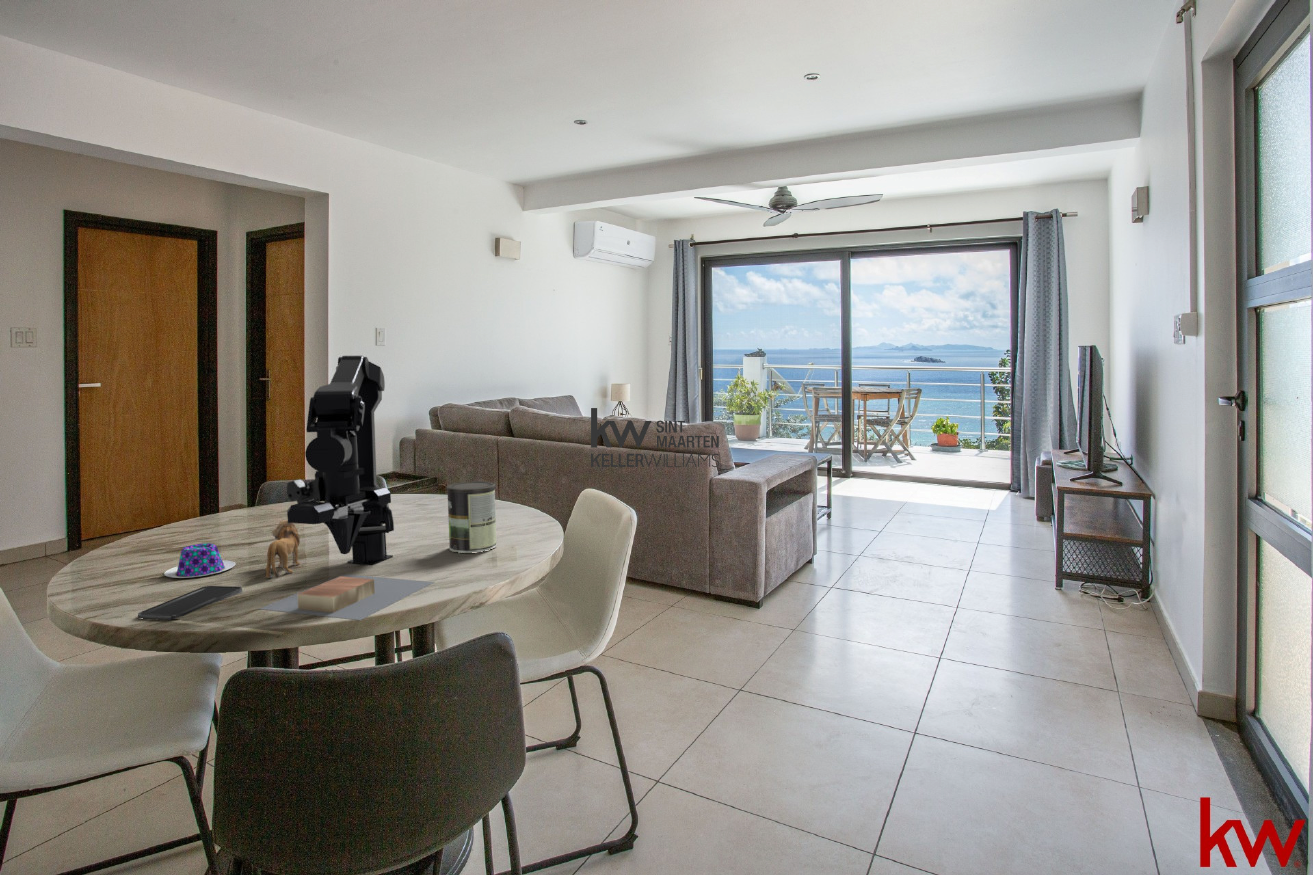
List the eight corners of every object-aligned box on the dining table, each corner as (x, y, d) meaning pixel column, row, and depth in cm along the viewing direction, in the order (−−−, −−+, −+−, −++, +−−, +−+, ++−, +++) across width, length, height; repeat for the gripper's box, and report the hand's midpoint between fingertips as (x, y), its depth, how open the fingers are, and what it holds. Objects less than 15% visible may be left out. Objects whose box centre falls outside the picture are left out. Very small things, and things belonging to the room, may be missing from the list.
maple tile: (340, 576, 125) (297, 593, 115) (373, 579, 123) (332, 597, 113) (341, 590, 125) (298, 608, 116) (374, 593, 123) (333, 612, 114)
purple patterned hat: (205, 582, 133) (203, 555, 133) (148, 580, 135) (146, 553, 134) (249, 564, 145) (247, 539, 145) (196, 562, 147) (194, 538, 146)
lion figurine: (274, 562, 146) (271, 519, 145) (303, 559, 147) (300, 517, 147) (263, 582, 132) (259, 535, 131) (294, 578, 134) (291, 532, 133)
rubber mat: (344, 576, 135) (344, 574, 135) (434, 584, 129) (434, 582, 129) (258, 611, 116) (258, 608, 116) (360, 622, 110) (360, 619, 110)
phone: (134, 614, 113) (206, 585, 128) (134, 621, 113) (206, 591, 128) (177, 616, 112) (245, 586, 127) (178, 623, 112) (245, 592, 127)
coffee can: (445, 555, 150) (442, 489, 148) (453, 543, 160) (451, 481, 158) (494, 553, 151) (492, 488, 149) (499, 541, 161) (497, 480, 159)
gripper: (339, 455, 131) (344, 537, 132) (256, 470, 113) (263, 565, 114) (390, 457, 127) (394, 541, 129) (313, 472, 110) (319, 570, 111)
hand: (345, 553), depth 121 cm, fingers closed
